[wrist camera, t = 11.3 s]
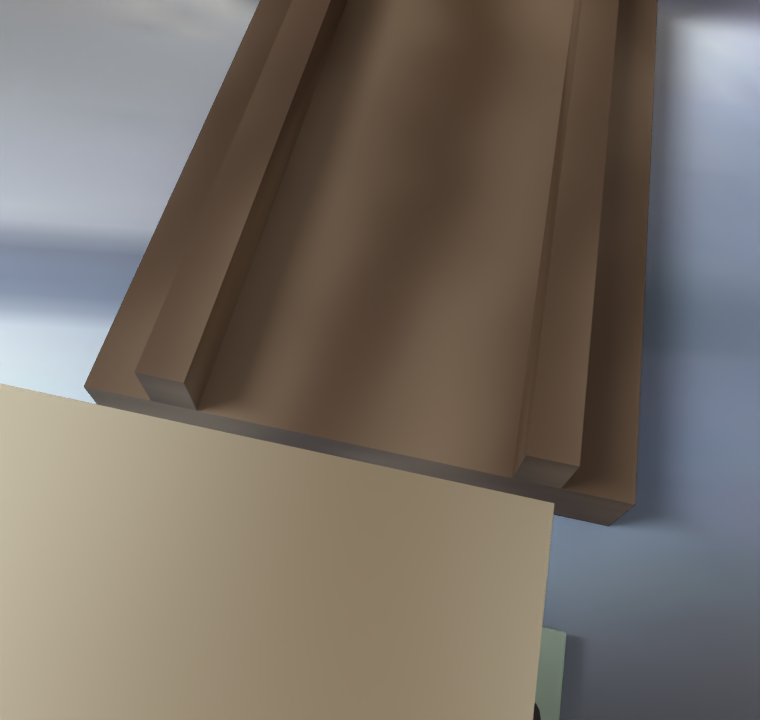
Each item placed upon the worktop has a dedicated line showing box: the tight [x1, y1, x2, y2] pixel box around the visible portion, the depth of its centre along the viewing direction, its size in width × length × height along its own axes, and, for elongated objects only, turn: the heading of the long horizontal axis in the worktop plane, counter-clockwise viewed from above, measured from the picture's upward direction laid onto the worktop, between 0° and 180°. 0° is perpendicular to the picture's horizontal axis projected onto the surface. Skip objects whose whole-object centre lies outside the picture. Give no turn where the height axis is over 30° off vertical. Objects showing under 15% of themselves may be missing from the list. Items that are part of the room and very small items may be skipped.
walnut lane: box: [84, 0, 658, 526], centre depth 20 cm, size 14×22×10 cm, turn 168°
